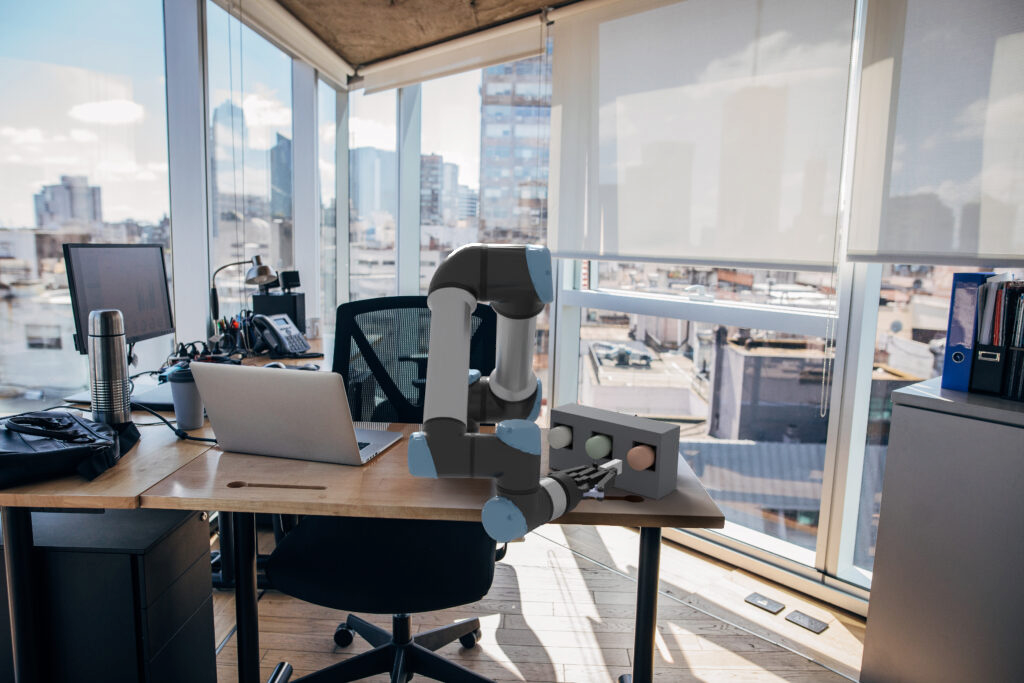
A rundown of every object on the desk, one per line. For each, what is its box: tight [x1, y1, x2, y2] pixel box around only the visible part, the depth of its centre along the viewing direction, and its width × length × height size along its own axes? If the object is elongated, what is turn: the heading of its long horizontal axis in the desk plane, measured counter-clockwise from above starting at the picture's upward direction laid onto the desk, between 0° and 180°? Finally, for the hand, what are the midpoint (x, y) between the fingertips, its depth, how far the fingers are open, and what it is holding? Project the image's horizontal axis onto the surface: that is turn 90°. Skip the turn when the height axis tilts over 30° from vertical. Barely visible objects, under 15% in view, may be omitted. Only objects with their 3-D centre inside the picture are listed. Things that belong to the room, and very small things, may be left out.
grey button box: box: [548, 402, 681, 501], centre depth 155 cm, size 9×30×15 cm, turn 50°
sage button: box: [585, 434, 613, 459], centre depth 151 cm, size 4×5×5 cm
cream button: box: [546, 425, 573, 449], centre depth 158 cm, size 4×5×5 cm
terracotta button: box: [627, 444, 656, 471], centre depth 144 cm, size 4×5×5 cm
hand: (618, 466), depth 136 cm, fingers closed
